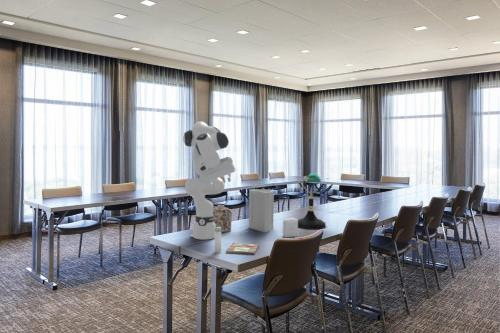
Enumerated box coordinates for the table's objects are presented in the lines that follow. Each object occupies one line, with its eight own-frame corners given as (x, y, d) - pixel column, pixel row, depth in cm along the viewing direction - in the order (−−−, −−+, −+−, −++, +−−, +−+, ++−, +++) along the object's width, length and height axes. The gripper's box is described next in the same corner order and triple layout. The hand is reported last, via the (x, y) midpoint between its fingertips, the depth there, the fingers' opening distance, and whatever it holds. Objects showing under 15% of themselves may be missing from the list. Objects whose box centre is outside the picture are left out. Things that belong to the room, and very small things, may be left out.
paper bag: (280, 229, 278) (281, 191, 277) (264, 232, 270) (265, 192, 268) (264, 225, 294) (264, 188, 292) (248, 227, 285) (248, 189, 283)
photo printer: (295, 235, 263) (295, 217, 262) (298, 236, 259) (298, 218, 258) (281, 236, 259) (282, 218, 258) (284, 237, 255) (285, 219, 254)
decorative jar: (231, 231, 271) (232, 205, 271) (218, 232, 264) (219, 206, 263) (221, 228, 280) (222, 203, 280) (207, 229, 272) (209, 204, 272)
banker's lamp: (326, 230, 278) (327, 175, 276) (293, 228, 282) (295, 174, 280) (325, 223, 304) (326, 172, 302) (296, 221, 308) (297, 171, 306)
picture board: (232, 244, 234) (232, 242, 234) (258, 246, 232) (258, 244, 232) (226, 253, 217) (226, 250, 217) (254, 254, 214) (254, 252, 214)
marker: (215, 251, 221) (215, 226, 220) (221, 251, 220) (222, 227, 219) (213, 252, 217) (214, 228, 216) (220, 253, 216) (220, 228, 216)
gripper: (230, 154, 216) (239, 175, 220) (196, 166, 217) (205, 188, 221) (230, 157, 210) (239, 179, 214) (195, 170, 211) (205, 192, 215)
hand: (222, 184), depth 218 cm, fingers open, 8 cm apart
